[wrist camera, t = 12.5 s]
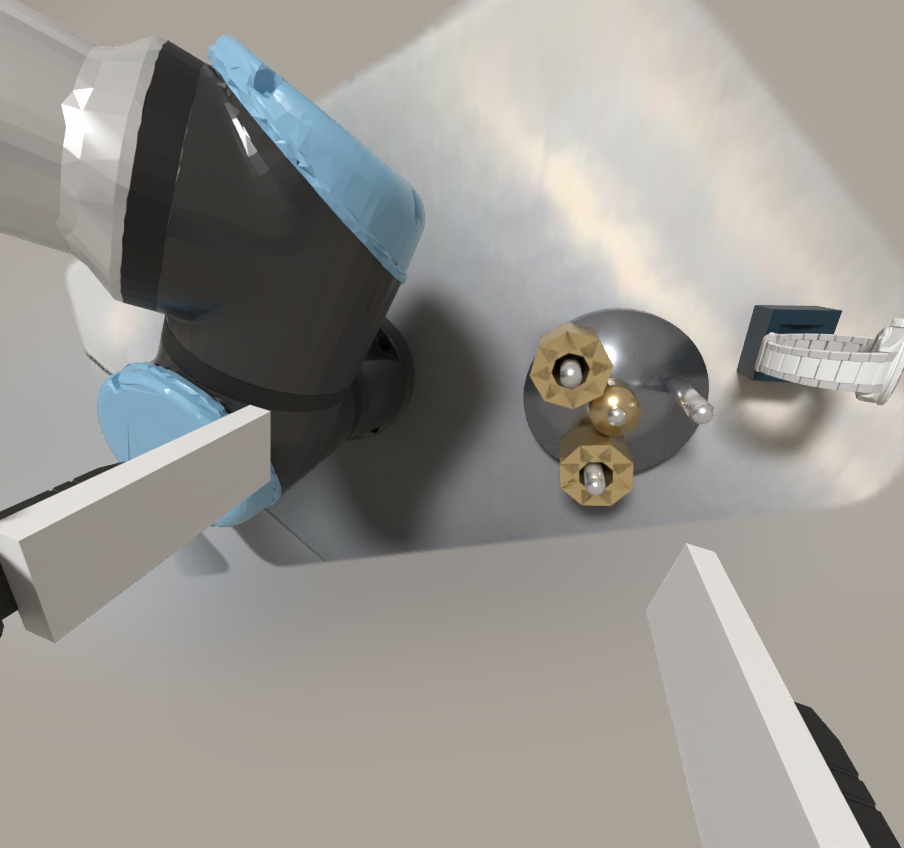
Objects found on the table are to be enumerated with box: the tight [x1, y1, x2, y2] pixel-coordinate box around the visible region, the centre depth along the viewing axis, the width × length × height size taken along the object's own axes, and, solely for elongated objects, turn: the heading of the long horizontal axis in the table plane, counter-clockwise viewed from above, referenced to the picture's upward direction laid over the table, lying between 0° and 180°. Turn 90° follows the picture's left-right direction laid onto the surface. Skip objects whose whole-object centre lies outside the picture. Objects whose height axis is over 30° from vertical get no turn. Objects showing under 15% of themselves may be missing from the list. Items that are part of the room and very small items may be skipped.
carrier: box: [524, 308, 715, 495], centre depth 34 cm, size 16×16×9 cm
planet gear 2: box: [560, 424, 633, 506], centre depth 37 cm, size 6×6×5 cm
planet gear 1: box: [530, 322, 614, 409], centre depth 34 cm, size 6×6×5 cm
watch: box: [737, 305, 904, 405], centre depth 28 cm, size 6×8×11 cm
